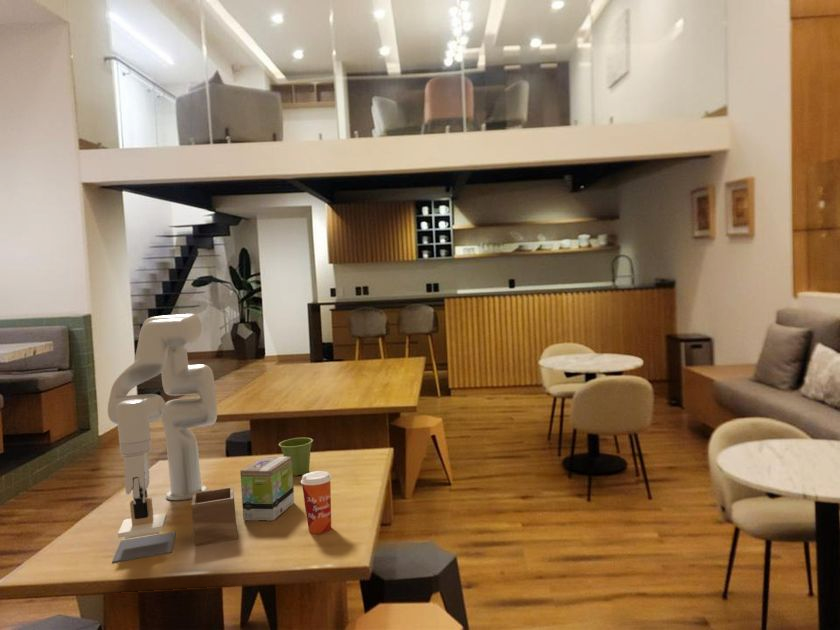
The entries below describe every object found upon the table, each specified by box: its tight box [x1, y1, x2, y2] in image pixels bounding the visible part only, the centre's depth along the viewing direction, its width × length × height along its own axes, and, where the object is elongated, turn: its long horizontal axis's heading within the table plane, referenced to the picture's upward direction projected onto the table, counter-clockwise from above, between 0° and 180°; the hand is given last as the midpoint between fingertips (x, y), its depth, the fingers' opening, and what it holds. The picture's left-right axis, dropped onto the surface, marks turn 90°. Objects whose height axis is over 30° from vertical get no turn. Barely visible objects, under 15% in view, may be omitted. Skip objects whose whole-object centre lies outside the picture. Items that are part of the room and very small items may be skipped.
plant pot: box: [278, 437, 314, 477], centre depth 229 cm, size 12×12×11 cm
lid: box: [117, 497, 168, 540], centre depth 171 cm, size 11×11×8 cm
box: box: [191, 486, 238, 547], centre depth 177 cm, size 11×11×11 cm
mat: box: [111, 531, 176, 564], centre depth 172 cm, size 14×14×1 cm
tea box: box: [239, 456, 295, 522], centre depth 192 cm, size 15×10×15 cm, turn 168°
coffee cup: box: [300, 470, 332, 535], centre depth 176 cm, size 8×8×15 cm
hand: (142, 515), depth 171 cm, fingers closed on lid
